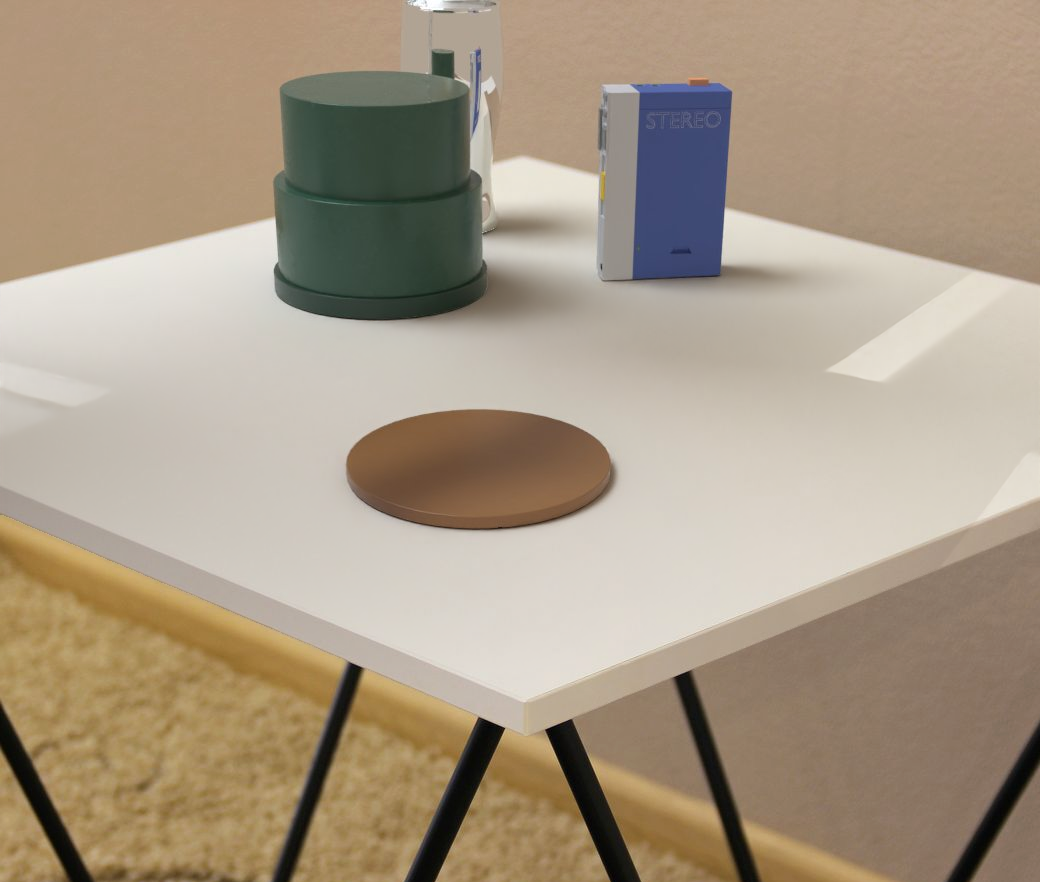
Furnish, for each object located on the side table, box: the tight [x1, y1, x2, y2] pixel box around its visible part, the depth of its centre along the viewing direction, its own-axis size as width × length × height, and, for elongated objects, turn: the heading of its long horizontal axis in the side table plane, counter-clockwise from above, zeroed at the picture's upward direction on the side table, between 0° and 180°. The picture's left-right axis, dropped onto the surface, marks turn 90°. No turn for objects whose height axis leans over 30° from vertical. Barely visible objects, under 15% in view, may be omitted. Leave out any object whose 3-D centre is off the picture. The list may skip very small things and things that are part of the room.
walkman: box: [596, 77, 733, 281], centre depth 95 cm, size 8×3×12 cm, turn 102°
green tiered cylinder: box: [272, 70, 489, 320], centre depth 91 cm, size 13×13×12 cm
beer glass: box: [399, 0, 505, 232], centre depth 104 cm, size 7×7×15 cm
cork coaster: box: [345, 408, 612, 529], centre depth 69 cm, size 12×12×1 cm
